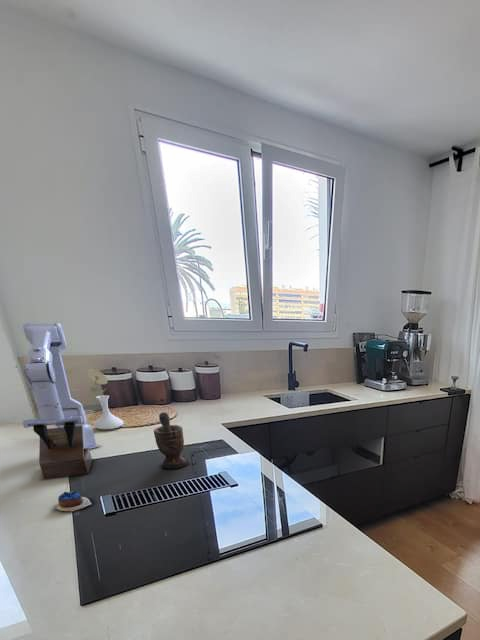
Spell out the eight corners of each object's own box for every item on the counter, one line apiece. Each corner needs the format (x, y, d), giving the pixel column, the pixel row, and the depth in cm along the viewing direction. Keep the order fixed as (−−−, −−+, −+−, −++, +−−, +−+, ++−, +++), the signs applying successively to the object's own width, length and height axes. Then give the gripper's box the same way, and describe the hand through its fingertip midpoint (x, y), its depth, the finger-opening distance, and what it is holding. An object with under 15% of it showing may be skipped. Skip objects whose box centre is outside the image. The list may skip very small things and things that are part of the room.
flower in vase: (129, 427, 174) (117, 369, 164) (103, 433, 165) (88, 372, 155) (114, 422, 180) (101, 366, 170) (87, 427, 171) (72, 369, 161)
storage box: (52, 464, 132) (48, 452, 130) (92, 460, 137) (88, 447, 135) (44, 479, 121) (39, 465, 119) (87, 473, 126) (84, 460, 124)
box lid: (40, 430, 126) (35, 421, 122) (82, 426, 131) (78, 417, 127) (39, 465, 119) (34, 456, 116) (84, 460, 124) (80, 451, 121)
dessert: (47, 506, 104) (56, 485, 105) (71, 510, 110) (79, 490, 111) (67, 514, 101) (77, 493, 102) (90, 518, 107) (99, 497, 108)
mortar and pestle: (195, 468, 132) (186, 410, 124) (168, 475, 127) (157, 414, 119) (182, 459, 140) (173, 403, 132) (157, 464, 135) (145, 407, 127)
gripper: (14, 409, 112) (29, 453, 117) (75, 405, 118) (86, 447, 123) (20, 403, 117) (34, 446, 123) (78, 400, 123) (89, 441, 129)
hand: (61, 447), depth 123 cm, fingers closed on box lid, 5 cm apart
